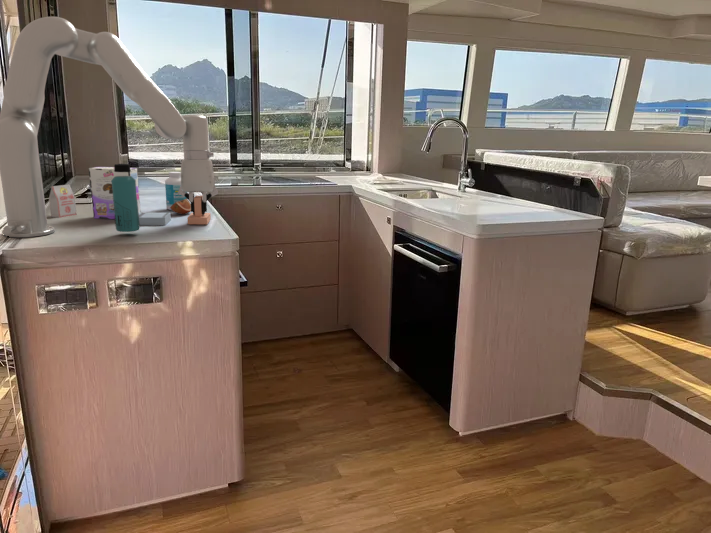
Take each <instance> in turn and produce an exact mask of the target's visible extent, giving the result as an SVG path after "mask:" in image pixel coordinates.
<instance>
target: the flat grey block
mask: <svg viewBox="0 0 711 533" xmlns="http://www.w3.org/2000/svg"><path fill="white" fill-rule="evenodd" d="M139 221H140V225H139V226H166V225H167V224H168V223H170V221H172V218H171V212H141V213H139Z"/></svg>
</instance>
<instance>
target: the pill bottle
mask: <svg viewBox="0 0 711 533" xmlns="http://www.w3.org/2000/svg"><path fill="white" fill-rule="evenodd" d="M168 176H169V177H167V178H166V179H165V180H164V182H165V183H164V185H165V186H164V187H165V204H166V209H167V210H168V211H173V210H172V209H171V208H170V207H171V206H172V205H173V204H174V203H175V202H178V201H181V200H184V199H187V198H186V197H185V196H182V195H180V194H178V191H179V188H180V186H181V171H168ZM186 193H188V192H186ZM187 200H188V199H187Z"/></svg>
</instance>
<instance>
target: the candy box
mask: <svg viewBox="0 0 711 533" xmlns="http://www.w3.org/2000/svg"><path fill="white" fill-rule="evenodd" d="M87 169H88V176H89V177H88V178H89V186H90V195H91V204H92V205H91V206H92V212H93V219H98V220H100V219H101V220H103V219H104V220H115V213H114V202H113V190H112V182H111V180H112V179H113V178H114V177H115V176H131V177H133V178H134V179H135V180H136V182H135V183H136V195H137V204H138V213H142V212H141V211H142V210H141V201H140V198H141V197H140V187H139V185H140V184H139V175H138V167H137V168H136V167H130V170H131V172H114V166H94V167H89V168H87Z"/></svg>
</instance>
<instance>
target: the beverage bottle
mask: <svg viewBox="0 0 711 533" xmlns="http://www.w3.org/2000/svg"><path fill="white" fill-rule="evenodd" d="M113 167H114V172H131V170H130V168H131V166H130V164H129V163H117V164H115V163H114V166H113ZM111 182H112V190H113V202H114V213H115V219H114V225H115V229H116V231H117V232H120V233H129V232H137V231H140V226H141V225H140V221H139V213H138V204H137V195H136V183H135V182H136V180H135V179H134V178H133V177H131V176H115V177H114V178H113V179H112V180H111Z"/></svg>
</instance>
